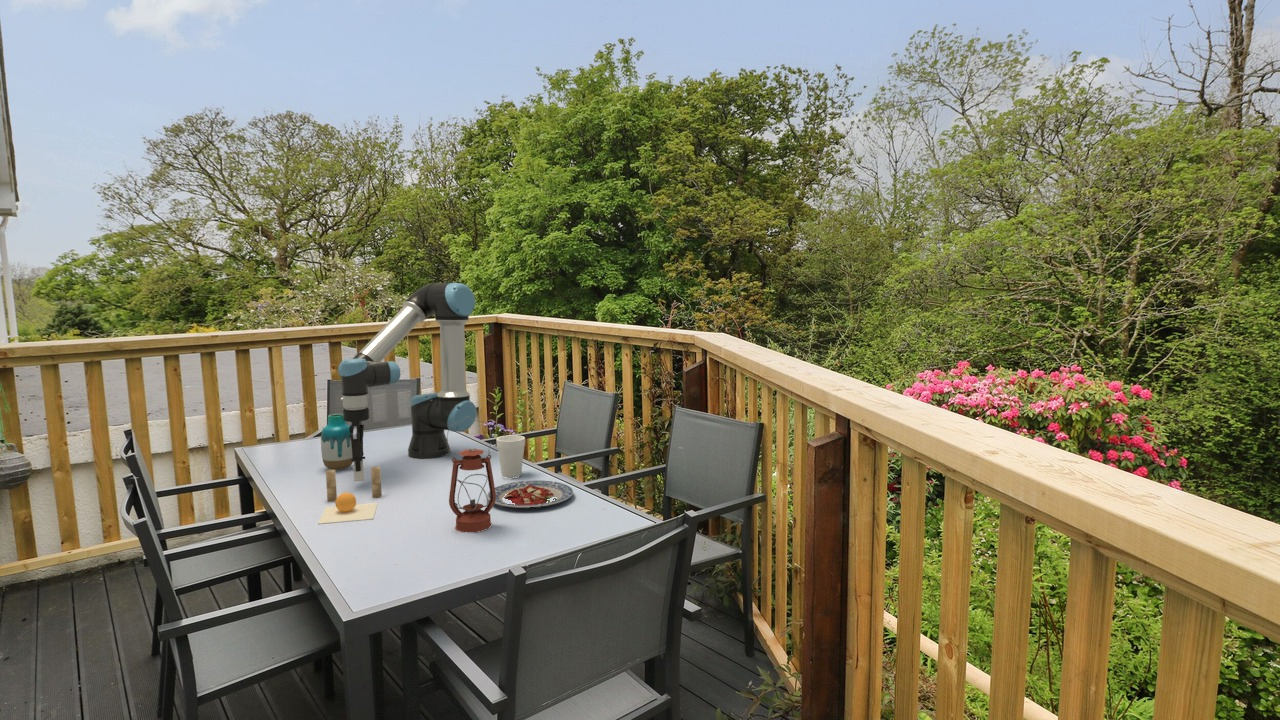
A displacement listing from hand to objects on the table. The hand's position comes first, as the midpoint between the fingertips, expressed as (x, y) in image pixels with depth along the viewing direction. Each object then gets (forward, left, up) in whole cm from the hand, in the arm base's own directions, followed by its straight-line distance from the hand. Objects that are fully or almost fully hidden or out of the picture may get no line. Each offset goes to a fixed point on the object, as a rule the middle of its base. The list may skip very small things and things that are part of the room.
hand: (359, 480), depth 218 cm
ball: (+1, +25, +1) cm, 25 cm away
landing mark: (0, +27, -2) cm, 27 cm away
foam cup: (-48, +2, -2) cm, 48 cm away
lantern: (-33, +47, -2) cm, 57 cm away
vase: (+9, -24, -2) cm, 25 cm away
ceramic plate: (-51, +28, -2) cm, 58 cm away
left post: (+6, +13, -2) cm, 15 cm away
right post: (-6, +13, -2) cm, 15 cm away
